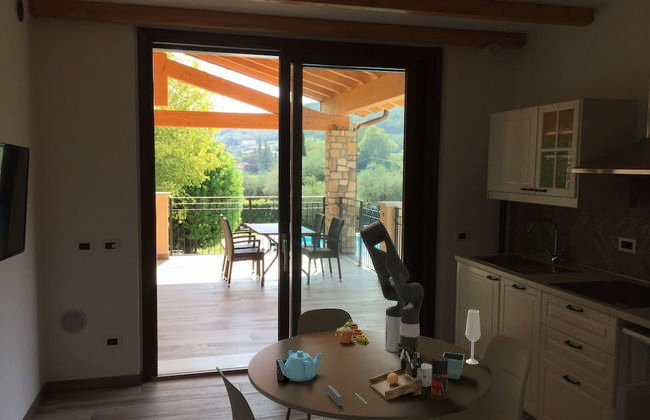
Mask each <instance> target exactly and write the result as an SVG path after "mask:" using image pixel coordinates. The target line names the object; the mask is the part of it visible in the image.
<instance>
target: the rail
mask: <svg viewBox="0 0 650 420" xmlns="http://www.w3.org/2000/svg"><path fill="white" fill-rule="evenodd" d="M326 388H327V392H326V393H327V395H328V397H330V398H331V400H332V401H333V402H334V404H336V405H337V406H338V407H342V397H343V396H342V395H341V394H340V393H339V392H338V391H337V390H336V389H335V388H334V387H333V386H332V385H331V384H328V385H327V387H326Z"/></svg>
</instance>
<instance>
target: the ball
mask: <svg viewBox="0 0 650 420" xmlns="http://www.w3.org/2000/svg"><path fill="white" fill-rule="evenodd" d="M387 380H388V382H389V383H390V384H392V385H394V384H396V383H397V382H398V376H397V374H395V373H390V374H389V375H388V376H387Z"/></svg>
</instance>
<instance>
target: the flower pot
mask: <svg viewBox="0 0 650 420" xmlns="http://www.w3.org/2000/svg"><path fill="white" fill-rule="evenodd" d="M442 356H443V357H446V358H448V377H447V379H452V380H460V377H461V375H462V374H463V368H464V362H465V354H463V353H456V352H448V351H447V352H446V351H444V352H443V354H442Z"/></svg>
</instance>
